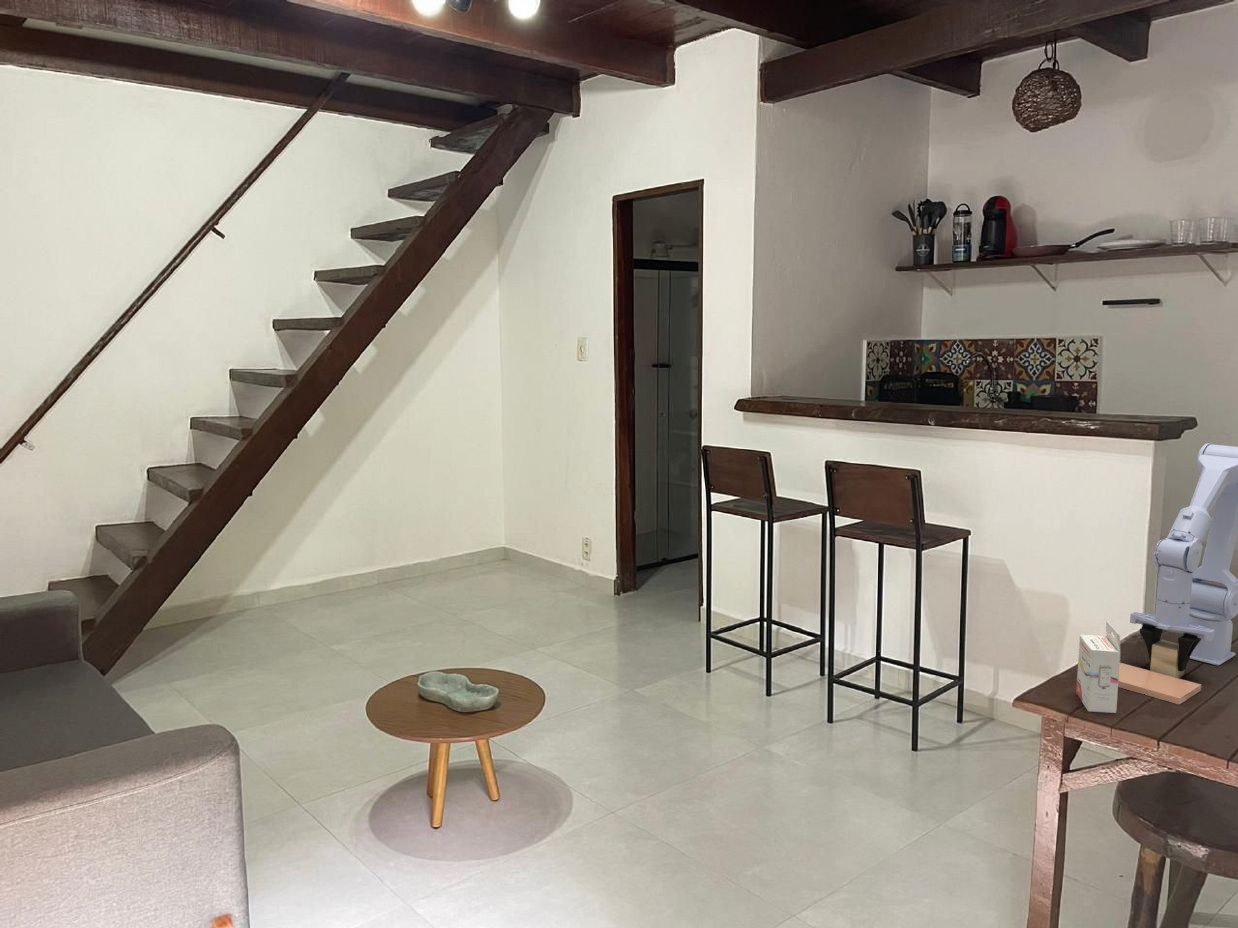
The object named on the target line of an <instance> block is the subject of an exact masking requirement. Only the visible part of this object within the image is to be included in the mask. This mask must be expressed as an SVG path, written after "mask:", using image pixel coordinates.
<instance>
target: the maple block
mask: <svg viewBox="0 0 1238 928" xmlns="http://www.w3.org/2000/svg"><path fill="white" fill-rule="evenodd" d="M1178 660H1179V643H1178V642H1173V641H1169V640H1165V639H1160V641H1158V642H1156V643H1154V644H1153V645H1152V654H1151V663H1150V668H1149V669H1150V670H1149V671H1153V672H1156V673H1160V674H1164V675H1167V676H1171V677H1175V678H1179V679H1180V678H1181V677H1182V676H1184V675H1185V670H1184V671H1182V672H1181V671H1178Z"/></svg>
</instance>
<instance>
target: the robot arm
mask: <svg viewBox="0 0 1238 928" xmlns="http://www.w3.org/2000/svg"><path fill="white" fill-rule="evenodd" d="M1196 464H1197V473H1198V475H1199V478H1198V481H1197V484H1196V487H1195V490H1194V493H1193V495H1192V497H1191V500H1190V504H1189V506H1187V507H1183V508H1181V509H1180V510H1179V512H1178V515H1177V516H1176V517H1175V518H1176V519H1175V520H1174V523H1172V524H1173V525H1171V529H1170V530H1169V533H1168V535H1167V536H1166V538H1164V539H1160V540H1159V541H1158V542H1157V544H1156V546H1155V550H1154V552H1153V561H1154V564H1155V575H1157V576H1158V577H1157V587H1156V588H1157V589H1156V598H1155V599H1156V600H1155V610H1154V611H1155V612H1154V614H1150V613H1143V612H1138V611H1137V612H1136V611H1133V612H1132V613H1130V618H1129V624H1134V625H1136V624H1139V625H1142V626H1141V628H1140V629H1139V633H1140V636H1141V637H1142V639H1143V641H1144V643H1145V647H1146V650H1147V653H1148V654H1147V655H1148V659H1149V664H1151V654H1152V645H1153V644H1154V643H1156V642H1158V641H1160V640H1161V637H1162V634H1163V630H1164V631H1168V632H1172V633H1177V634H1181V636H1180V637H1177V643H1178V644H1179V660H1178V671H1181V672H1182V671H1184V672H1185V670H1186V669H1187V665H1188V663H1189V660H1190V659H1191V660H1195V661H1198V662H1202V663H1206V664H1211V665H1214V666H1221V665H1222V664H1223V663H1226V662H1227V661H1228V660H1230V659H1231V658H1233V657H1234V656H1236V652H1234V651H1231V649H1232V639H1233V631H1234V630H1233V628H1234V627H1233V626H1234V625H1233V621H1232V620H1231V619H1233V618H1235V617H1237V615H1238V578H1237V577H1236V576H1235V575H1234V574H1233V573H1232V572H1231V571H1230V569H1231V564H1232V559H1233V554H1234V550H1235V547H1236V546H1235V545H1236V542H1237V536H1238V446H1231V445H1222V444H1213V443H1204V444H1203V446H1202V447H1200V449H1199V450H1198V453H1197V459H1196ZM1212 509H1213V511H1212ZM1211 511H1212V512H1213V513H1212V515H1211V516H1210V513H1211ZM1207 533H1208V535H1207ZM1206 535H1207V540H1206V544H1205V548H1204V546H1203V544H1202V543H1203V541H1204V539H1205V537H1206ZM1203 548H1204V552H1203ZM1202 552H1203V557H1202ZM1201 558H1202V562H1201ZM1200 562H1201V565H1200ZM1199 565H1200V566H1199ZM1198 566H1199V567H1198ZM1208 582H1211V583H1208ZM1212 583H1216V584H1212ZM1217 584H1221V585H1217ZM1222 585H1224V586H1222Z"/></svg>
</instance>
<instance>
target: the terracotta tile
mask: <svg viewBox="0 0 1238 928" xmlns="http://www.w3.org/2000/svg"><path fill="white" fill-rule="evenodd" d="M1118 688H1119V689H1124V690H1128V691H1131V692H1134V693H1138V694H1140V695H1144V694H1145V696H1147V697H1152V698H1155V699H1159V700H1162V701H1166V702H1168V703H1172V704H1175V705H1181V704H1183V703H1184V702H1186V701H1188V700H1189V699H1190V698H1192V697H1194V696H1195V695H1196V694H1198V693H1199V692H1202V684H1201V683H1197V682H1194V681H1190V680H1185V679H1182V678H1180V677H1179V678H1175V677H1171V676H1167V675H1164V674H1160V673H1156V672H1153V671H1150V670H1149V669H1145V668H1141V667H1137V666H1134V665H1130V664H1126V663H1123V662H1120V667H1119V680H1118Z"/></svg>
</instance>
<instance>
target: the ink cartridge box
mask: <svg viewBox="0 0 1238 928" xmlns="http://www.w3.org/2000/svg"><path fill="white" fill-rule="evenodd" d="M1105 628H1106V629H1105V630H1106V631H1105V632H1106V635H1092V634H1079V643H1078V644H1079V645H1078V648H1079V649H1078V661H1077V662H1078V663H1077V675H1076V688H1075V690H1076V691H1075V694H1076V695H1077V696H1078V698H1079V700H1080V701H1081V702H1082V704H1083V706H1084V707H1085V708H1086V710H1087V712H1089V713H1090V712H1092V713H1093V712H1094V713H1108V714H1110V713H1111V714H1116V713H1117V709H1118V708H1117V707H1118V693H1119V692H1118V691H1119V687H1118V680H1119V667H1120V663H1121V635H1120V633H1119V632H1118V631H1117V630H1116V629H1115V628H1114V626H1113V625H1112V624H1111V623H1110V622H1109V620H1106V622H1105ZM1112 633H1113V634H1112Z"/></svg>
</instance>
